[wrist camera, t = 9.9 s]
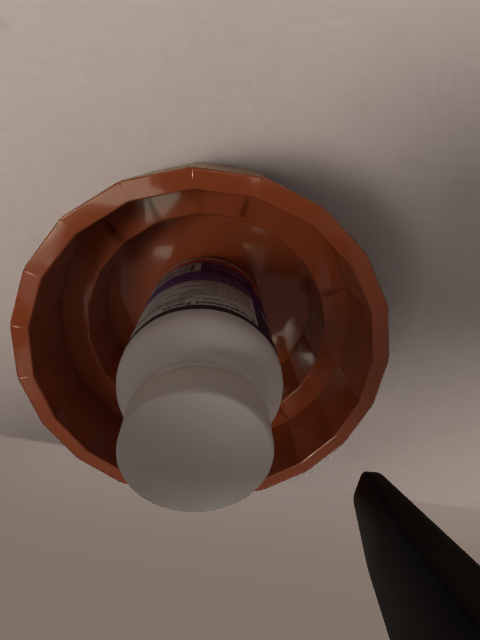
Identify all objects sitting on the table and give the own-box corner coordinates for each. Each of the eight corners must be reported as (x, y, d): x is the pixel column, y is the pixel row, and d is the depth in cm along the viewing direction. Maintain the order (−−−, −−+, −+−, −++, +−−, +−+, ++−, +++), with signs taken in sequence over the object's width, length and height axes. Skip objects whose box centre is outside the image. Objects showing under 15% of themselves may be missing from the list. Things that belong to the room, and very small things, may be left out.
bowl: (309, 416, 22) (338, 504, 16) (82, 400, 21) (32, 489, 15) (369, 185, 16) (444, 201, 11) (67, 142, 15) (-19, 137, 10)
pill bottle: (246, 363, 19) (269, 540, 11) (144, 345, 19) (77, 519, 10) (274, 267, 17) (332, 389, 8) (160, 242, 16) (92, 346, 8)
